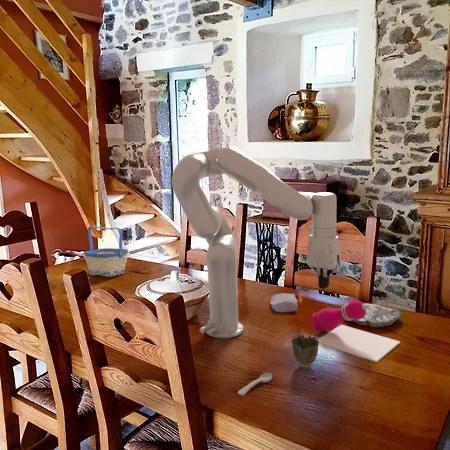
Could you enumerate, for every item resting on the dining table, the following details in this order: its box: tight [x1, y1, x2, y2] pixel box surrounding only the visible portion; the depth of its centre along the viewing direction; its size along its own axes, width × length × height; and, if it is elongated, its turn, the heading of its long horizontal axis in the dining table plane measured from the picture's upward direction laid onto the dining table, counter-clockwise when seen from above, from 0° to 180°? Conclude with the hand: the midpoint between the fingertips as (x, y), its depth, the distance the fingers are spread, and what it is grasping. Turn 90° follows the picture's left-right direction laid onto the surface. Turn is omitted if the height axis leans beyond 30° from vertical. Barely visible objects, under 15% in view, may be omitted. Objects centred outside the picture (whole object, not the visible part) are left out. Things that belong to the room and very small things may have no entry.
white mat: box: [317, 324, 401, 363], centre depth 140 cm, size 16×20×1 cm
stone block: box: [270, 292, 299, 313], centre depth 172 cm, size 12×5×10 cm
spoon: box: [237, 372, 273, 396], centre depth 118 cm, size 3×12×2 cm, turn 133°
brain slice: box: [344, 302, 402, 328], centre depth 157 cm, size 20×17×3 cm
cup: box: [291, 334, 320, 370], centre depth 126 cm, size 8×7×8 cm
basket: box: [83, 225, 129, 278], centre depth 218 cm, size 21×16×24 cm
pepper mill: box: [310, 299, 368, 333], centre depth 143 cm, size 7×7×20 cm
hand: (323, 287), depth 146 cm, fingers closed
